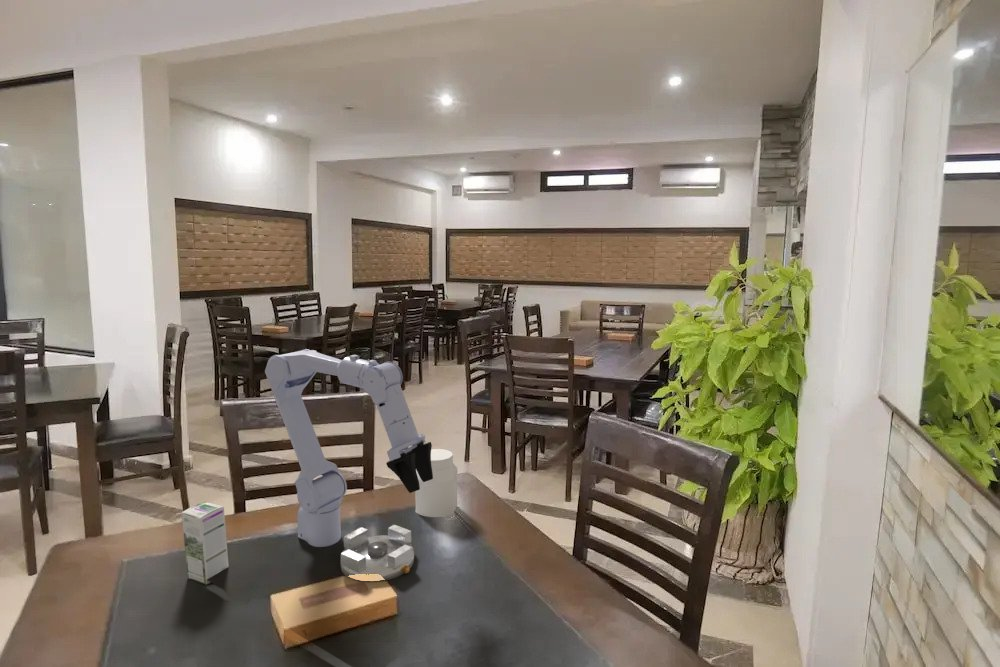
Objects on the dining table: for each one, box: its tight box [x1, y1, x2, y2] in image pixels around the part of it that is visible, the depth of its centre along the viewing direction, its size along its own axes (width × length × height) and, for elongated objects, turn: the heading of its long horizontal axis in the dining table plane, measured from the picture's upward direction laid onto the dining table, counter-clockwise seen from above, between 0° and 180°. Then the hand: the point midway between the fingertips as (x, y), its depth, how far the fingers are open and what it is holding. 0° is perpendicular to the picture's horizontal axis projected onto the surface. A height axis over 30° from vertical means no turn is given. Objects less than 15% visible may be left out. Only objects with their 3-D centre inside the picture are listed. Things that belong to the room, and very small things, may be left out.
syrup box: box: [181, 501, 230, 585], centre depth 119 cm, size 6×6×14 cm
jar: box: [414, 448, 458, 519], centre depth 149 cm, size 12×10×15 cm
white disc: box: [340, 524, 415, 581], centre depth 123 cm, size 16×15×4 cm
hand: (421, 485), depth 118 cm, fingers open, 7 cm apart
